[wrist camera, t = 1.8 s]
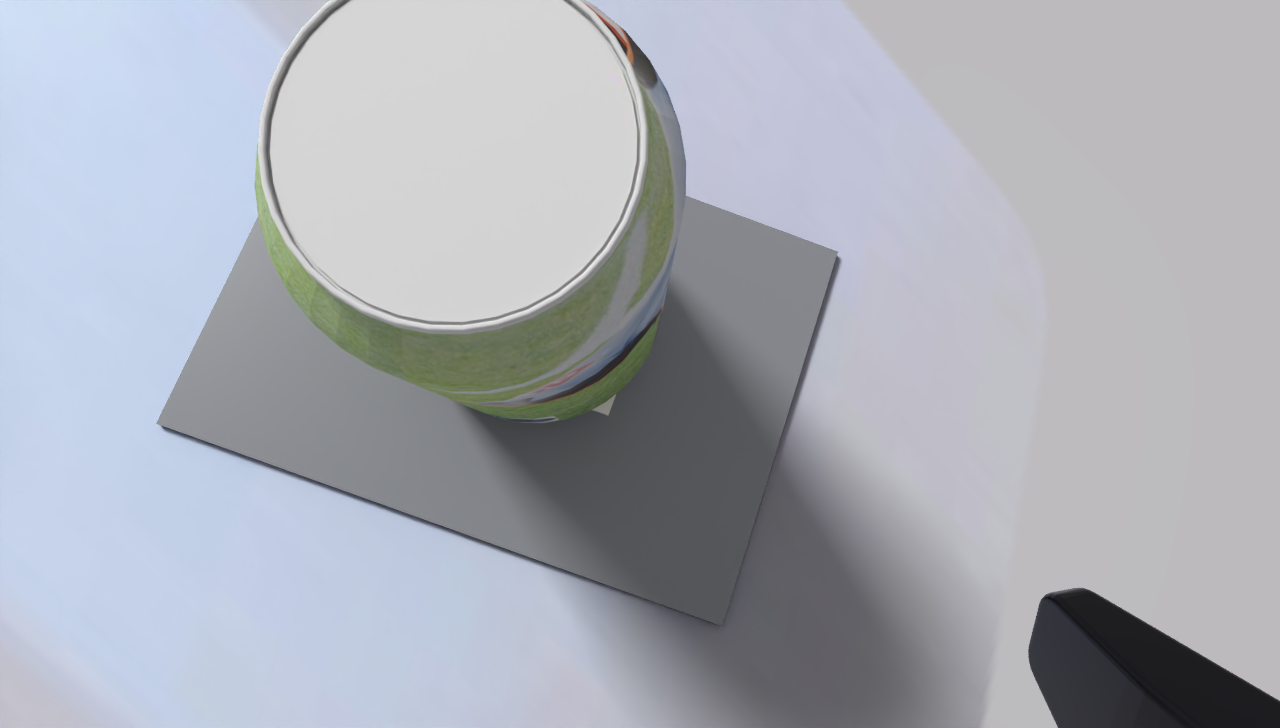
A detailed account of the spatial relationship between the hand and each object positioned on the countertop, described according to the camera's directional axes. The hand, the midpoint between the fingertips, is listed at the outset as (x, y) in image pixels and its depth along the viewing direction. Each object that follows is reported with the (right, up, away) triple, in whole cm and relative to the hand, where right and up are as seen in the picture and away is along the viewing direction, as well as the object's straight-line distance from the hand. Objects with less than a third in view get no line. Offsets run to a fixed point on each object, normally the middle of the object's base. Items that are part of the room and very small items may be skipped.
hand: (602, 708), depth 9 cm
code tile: (-3, +4, +15) cm, 15 cm away
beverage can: (-3, +4, +15) cm, 15 cm away
